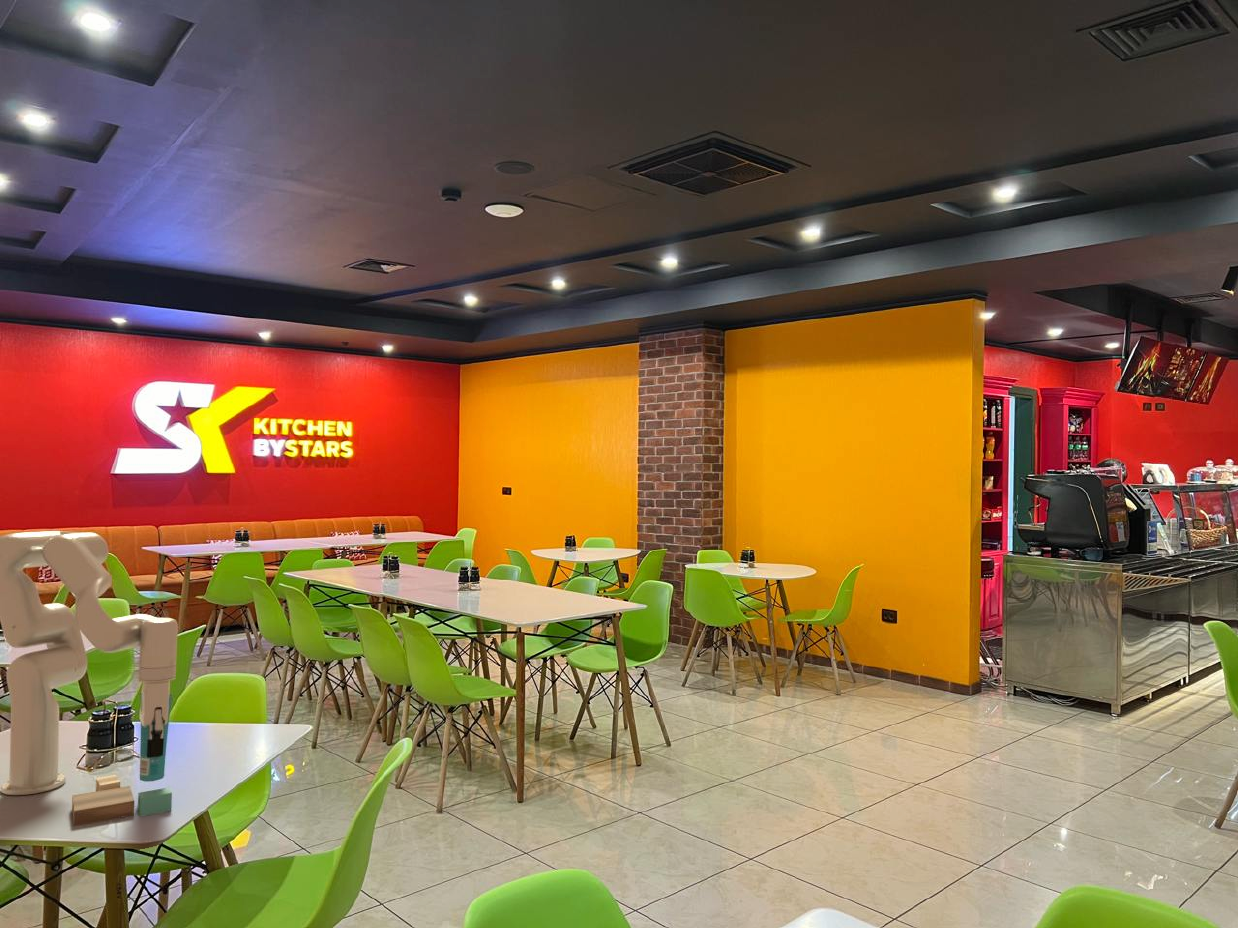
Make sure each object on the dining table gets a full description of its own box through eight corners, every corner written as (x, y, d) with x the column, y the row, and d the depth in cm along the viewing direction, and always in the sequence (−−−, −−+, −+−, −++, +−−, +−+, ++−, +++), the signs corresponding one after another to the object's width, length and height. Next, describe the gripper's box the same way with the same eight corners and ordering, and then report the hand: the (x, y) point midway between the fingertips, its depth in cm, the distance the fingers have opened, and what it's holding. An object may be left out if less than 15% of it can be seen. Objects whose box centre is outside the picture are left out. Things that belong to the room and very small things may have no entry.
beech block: (95, 795, 199) (95, 778, 199) (115, 791, 201) (115, 774, 201) (99, 803, 194) (100, 785, 194) (119, 799, 197) (120, 781, 197)
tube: (172, 775, 200) (177, 691, 200) (164, 782, 195) (168, 696, 196) (139, 774, 199) (144, 690, 200) (129, 781, 194) (134, 696, 195)
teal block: (140, 816, 186) (140, 798, 186) (137, 811, 190) (138, 792, 190) (171, 810, 190) (171, 792, 190) (168, 805, 193) (168, 787, 193)
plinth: (72, 808, 190) (72, 795, 190) (129, 799, 196) (129, 785, 196) (74, 825, 181) (74, 810, 181) (134, 814, 187) (134, 800, 187)
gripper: (135, 666, 203) (131, 744, 202) (142, 682, 189) (138, 766, 188) (170, 664, 207) (167, 740, 206) (180, 679, 193) (176, 761, 192)
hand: (153, 752), depth 197 cm, fingers closed on tube, 4 cm apart
